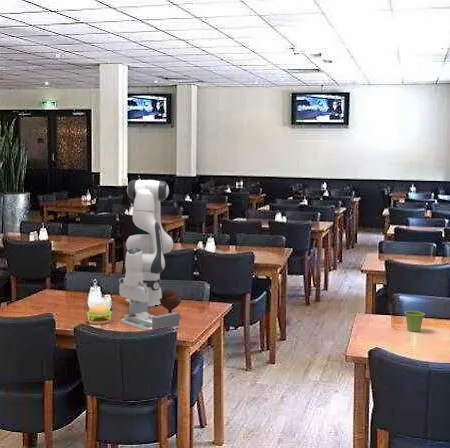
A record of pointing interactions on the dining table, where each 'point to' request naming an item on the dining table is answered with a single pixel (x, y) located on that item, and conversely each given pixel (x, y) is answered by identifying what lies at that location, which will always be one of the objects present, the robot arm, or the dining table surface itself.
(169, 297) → the ice cream bowl
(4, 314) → the dining table surface
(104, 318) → the hamburger
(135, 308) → the gauge carriage
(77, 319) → the dining table surface
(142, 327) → the grey mounting bracket
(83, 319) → the dining table surface
